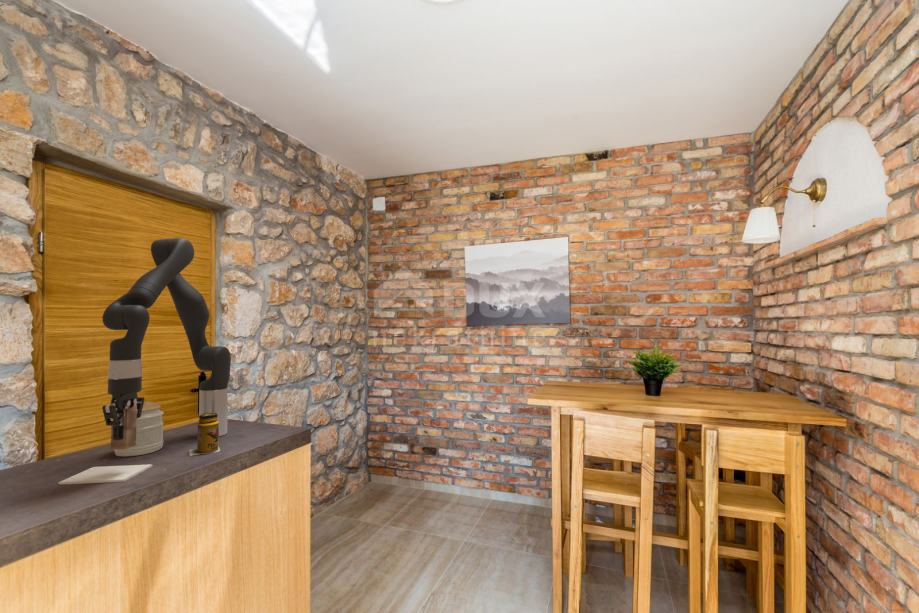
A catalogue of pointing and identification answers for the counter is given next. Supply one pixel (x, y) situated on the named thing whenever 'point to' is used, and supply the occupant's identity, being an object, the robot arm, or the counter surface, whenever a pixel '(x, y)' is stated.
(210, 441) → the condiment
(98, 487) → the counter surface
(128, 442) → the block
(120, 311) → the robot arm
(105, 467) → the mat
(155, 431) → the jar
